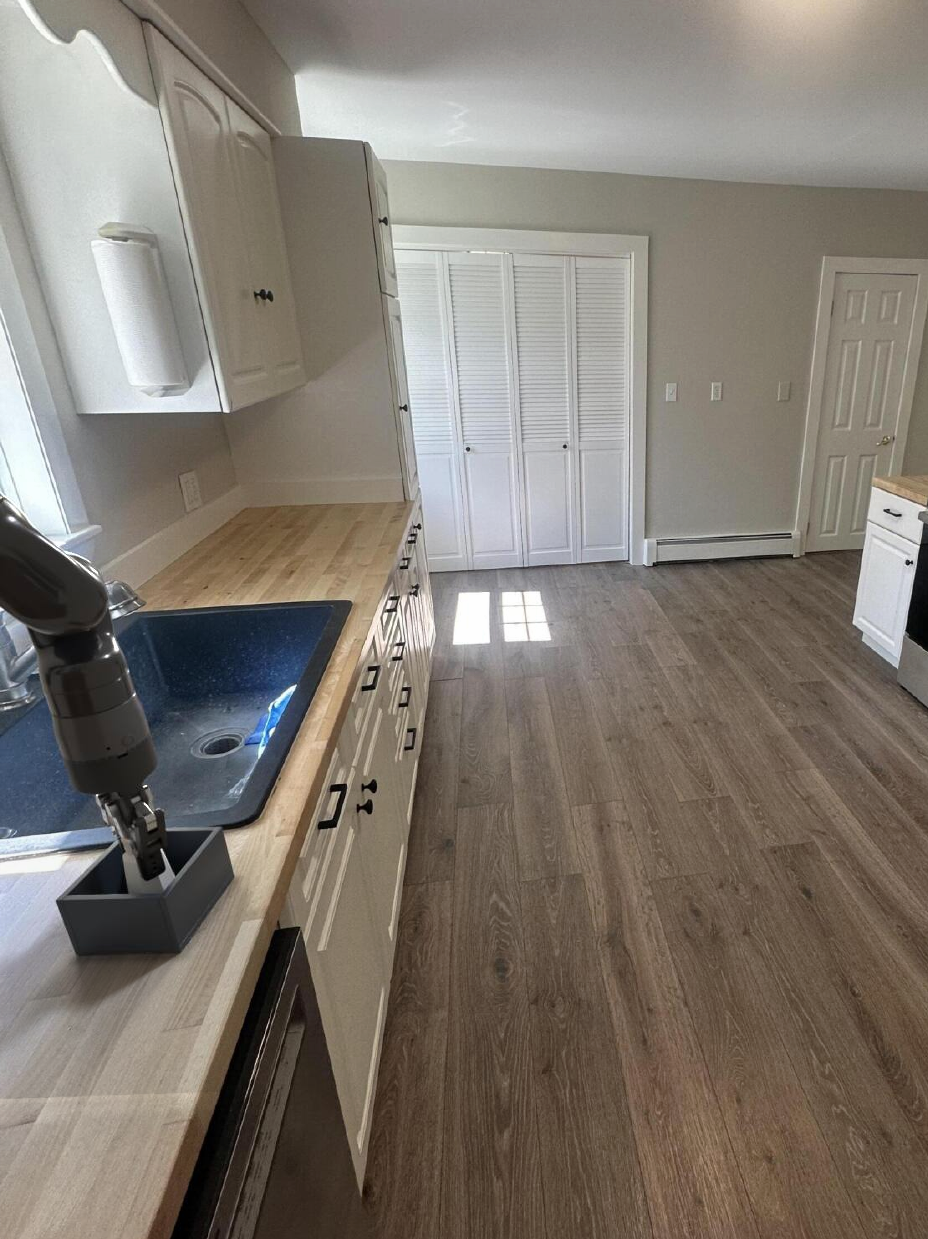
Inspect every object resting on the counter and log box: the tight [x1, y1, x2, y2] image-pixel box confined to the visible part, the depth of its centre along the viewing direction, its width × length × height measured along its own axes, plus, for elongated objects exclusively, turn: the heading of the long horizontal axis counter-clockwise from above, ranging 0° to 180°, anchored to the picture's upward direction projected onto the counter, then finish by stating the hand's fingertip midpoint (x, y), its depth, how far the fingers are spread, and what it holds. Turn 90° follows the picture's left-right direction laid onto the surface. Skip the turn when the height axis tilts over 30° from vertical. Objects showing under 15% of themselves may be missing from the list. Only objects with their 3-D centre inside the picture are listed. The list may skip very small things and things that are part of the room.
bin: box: [55, 826, 236, 956], centre depth 77 cm, size 11×11×8 cm
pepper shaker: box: [121, 837, 175, 894], centre depth 76 cm, size 5×5×11 cm
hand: (145, 866), depth 76 cm, fingers closed on pepper shaker, 4 cm apart
